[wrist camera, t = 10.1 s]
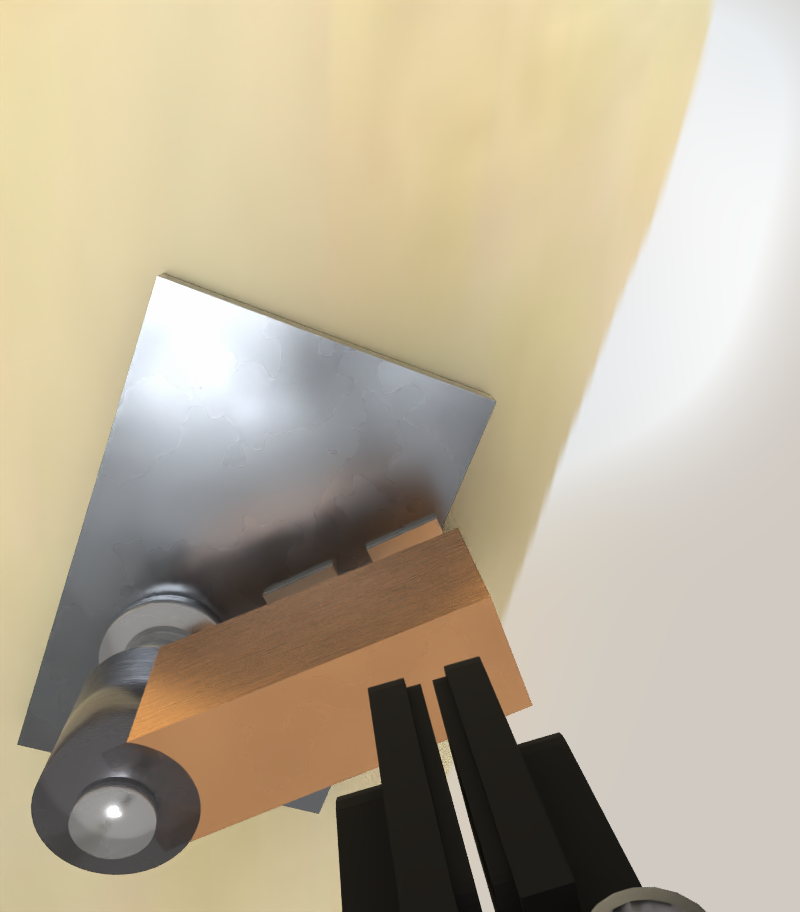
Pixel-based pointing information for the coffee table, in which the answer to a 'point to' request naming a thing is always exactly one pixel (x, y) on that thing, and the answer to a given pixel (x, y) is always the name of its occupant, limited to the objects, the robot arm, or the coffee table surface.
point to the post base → (246, 482)
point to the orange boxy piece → (260, 707)
